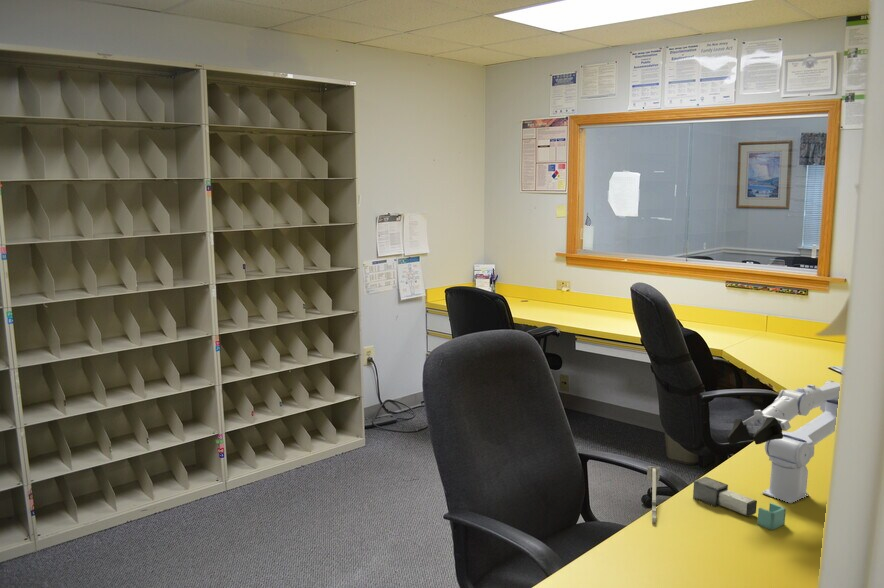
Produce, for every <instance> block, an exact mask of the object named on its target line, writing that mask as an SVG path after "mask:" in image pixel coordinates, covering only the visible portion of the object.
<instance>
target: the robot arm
mask: <svg viewBox="0 0 884 588" xmlns="http://www.w3.org/2000/svg"><path fill="white" fill-rule="evenodd" d="M840 383H841V382H835V381H833V380H828V381H825V383H824V384H823V385H821V386H819V387H818V386H816V385H815V384H810V383H809V384H807V385H806V386H805V387H803V388H802V387H798V388H797V389H794V390H792V389H781V390H780V391H779V393H778V395H777V397H776V398H775V399H774V401H773V402H772V403H771V404H770V405H768V406H767V407H766V408H764V409H763V410H761V409H755V410H753V415H752V416H750V417H749V418H747V419H745V420H744V421H743V420H742V418H736V419H735V420H733V426H732V429H731V430H730V432H729V434H728V435H727V437H726V438H727V441H728V443H729V445H731V446H733V445H736V444H739V442H742V441H747V440H749V441H750V440H752V439H753V441H754V444H755V445H761V444H763V443H764V450H765V453H766V455H767V457H768V461H770V462H771V464H770V465H771V466H770V477H769V488H767V489H765V490H763V491H762V493H761V494H763V495H766V496H768V497H770V498H773V497H774V499H776V498H777V499H776V500H779V499H780V500H779V501H782V500H783V501H782V502H784V501H785V503H787V502H788V504H793V502H794V503H796V502H798V501H800V500H799V499H801V498H803V499H805V498H806V497H805V496H807V495H809V494H810V493H809V492H807V489H808V476H809V470H808V468H807V466H806V465H808V463H809V462H810V461H811V459H812V458H813V457H814V456H815V445H817V444H819V443H820V442H821V441H823V440H824V439H826V438H827V437H829V436H830V435H832V434H834V433H835V432H836V431H835V425H836V417H837V408H838V399H839V391H840ZM816 408H819V410H821V412H822V413H821V414H819V415H818V416H816V417H815V418H813V419H812V420H810V421H809V422H807V423H805V424H804V425H802V426H801V427H798V428H797V429H796V430H794V431H788V430H790V429H791V428H792V426H791V424H790V421H792V420H793V419H794V418H795V417H797V416H805V417H806V416H808V415H809V413H810V412H811V411H812V410H813V409H816ZM750 433H751V434H753V435H752V438H751V435H750ZM805 494H806V495H805ZM804 497H805V498H804ZM797 500H798V501H797ZM801 500H802V499H801ZM795 501H796V502H795Z"/></svg>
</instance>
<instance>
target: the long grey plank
mask: <svg viewBox="0 0 884 588" xmlns="http://www.w3.org/2000/svg"><path fill="white" fill-rule="evenodd" d="M717 504H719V506H722V507H724V508H726V509H728V510H732V511H734V512H737V513H739V514H741V515H745V516H747V517H750V516H752V515H755V514H757V506H758V505H757V504H758V501H757V500H756V499H753V498H751V497H748V496H745V495H743V494H740V493H738V492H735V491H732V490H729V489H728V490H727V489H724V488H723V489H721V490H718V491H717Z"/></svg>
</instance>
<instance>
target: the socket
mask: <svg viewBox="0 0 884 588" xmlns="http://www.w3.org/2000/svg"><path fill="white" fill-rule="evenodd" d="M757 509H758V510H757V511H758V512H757V522H756V523H757V526H761V527H763V528H765V529H768V530H770V531H774V530H776V529H778V528H781V527H783V526H785V525H786V524H785V522H786V511H787V508H786V507H783V506H781V505H778V504H776V503H772V502H770V503H769V507H768V509H765V508H762V507H758V508H757ZM784 524H785V525H784ZM782 525H783V526H782Z"/></svg>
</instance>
